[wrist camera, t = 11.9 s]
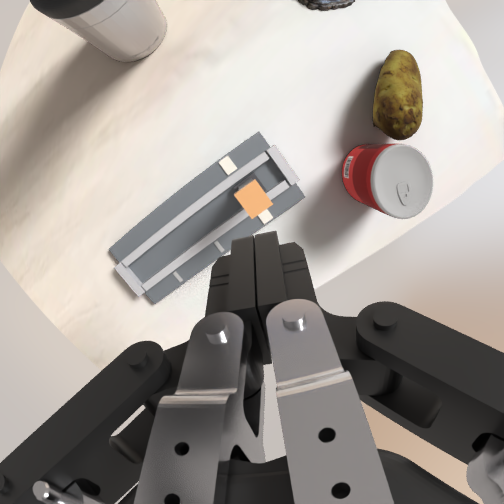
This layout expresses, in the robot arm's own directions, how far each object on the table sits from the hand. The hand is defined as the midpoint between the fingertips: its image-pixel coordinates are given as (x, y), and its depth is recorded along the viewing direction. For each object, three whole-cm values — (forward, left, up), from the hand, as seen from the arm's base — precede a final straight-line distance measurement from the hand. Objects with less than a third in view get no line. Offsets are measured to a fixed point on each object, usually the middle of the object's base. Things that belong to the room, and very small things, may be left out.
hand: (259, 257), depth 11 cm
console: (+1, -7, -31) cm, 31 cm away
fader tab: (+1, 0, -29) cm, 29 cm away
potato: (+1, +23, -31) cm, 39 cm away
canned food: (+8, +14, -31) cm, 35 cm away
